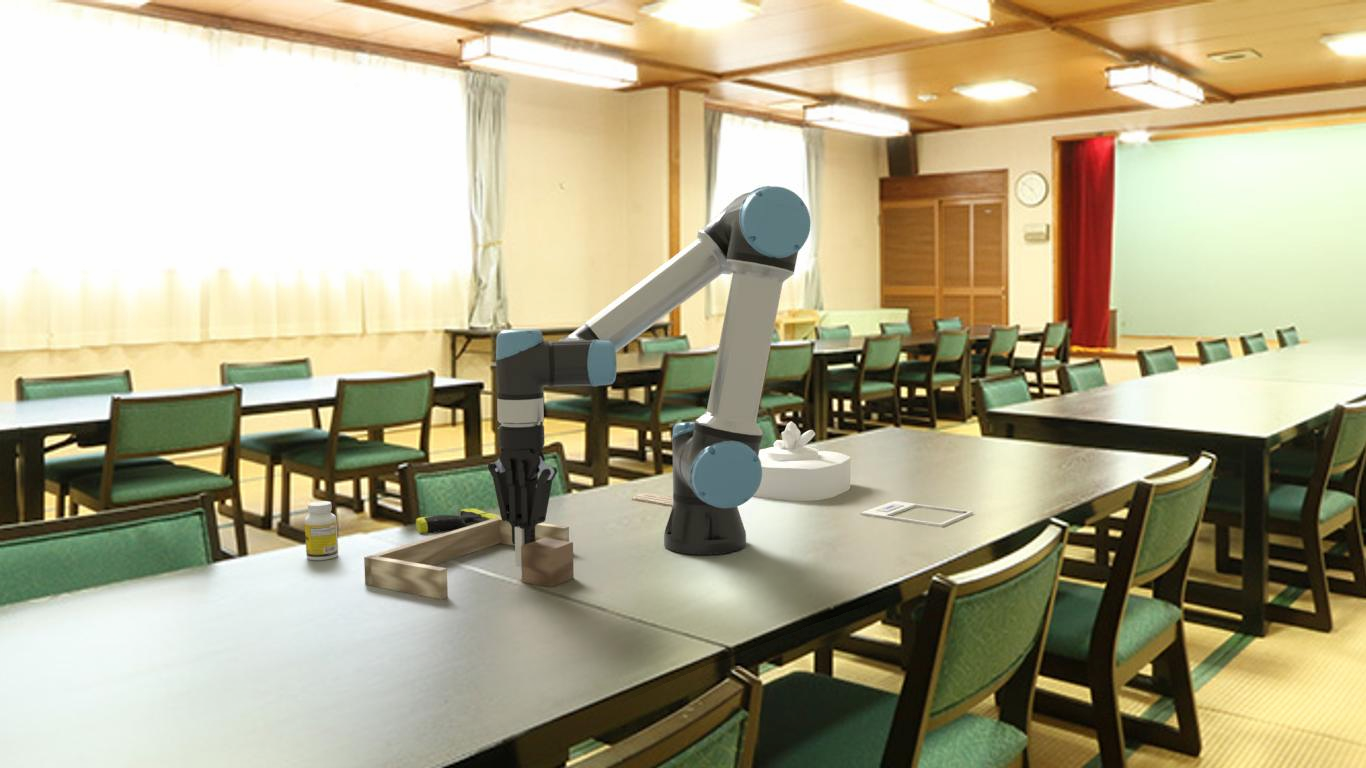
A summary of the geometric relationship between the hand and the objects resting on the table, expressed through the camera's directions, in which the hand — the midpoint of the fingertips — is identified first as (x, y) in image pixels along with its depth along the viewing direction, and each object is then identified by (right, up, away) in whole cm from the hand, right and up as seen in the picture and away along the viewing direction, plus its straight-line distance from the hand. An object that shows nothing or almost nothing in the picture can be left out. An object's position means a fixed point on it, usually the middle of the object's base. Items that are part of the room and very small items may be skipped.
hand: (524, 564), depth 175 cm
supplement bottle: (-38, -1, +13) cm, 40 cm away
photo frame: (+75, +2, +43) cm, 86 cm away
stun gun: (-16, 0, +31) cm, 35 cm away
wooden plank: (+26, +3, +55) cm, 61 cm away
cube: (+4, -2, -2) cm, 5 cm away
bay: (-10, -1, +6) cm, 11 cm away
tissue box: (+52, +5, +72) cm, 88 cm away
